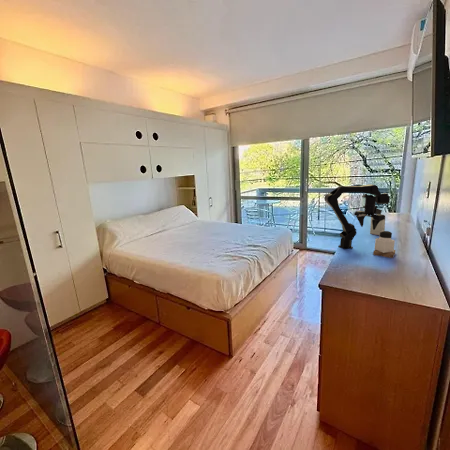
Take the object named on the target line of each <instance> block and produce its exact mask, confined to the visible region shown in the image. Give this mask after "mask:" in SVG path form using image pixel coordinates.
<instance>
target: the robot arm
mask: <svg viewBox="0 0 450 450" xmlns="http://www.w3.org/2000/svg"><path fill="white" fill-rule="evenodd" d="M343 193H364V194H363V195H362V196H361V198H364V205H363V208H364V209H363V210H355V211H354V213H353V215H354V216H355V218H356V219H357V220H358V223H359V226H360V227H362V228H363V227H364V221H365V218H366V217H368V218H371V217H373V220H372V225H373V230H375V228H376V227H377V225H378V223H379V222H380V221H382V220H384V219H385V220H386V215H385V214H383V210H382V209H380V208H378V207H377V205H388V204H390V201H391V199H390V196H389V193H387V192H385V193H381V191H380V190H379V187H378V185H376V184H364V185H355V186H354V185H339V186H337V187H336V188H334V189H333V190H331V191H330V192H329V193H326V194H325V196H324V199H323V200H324V201H325V202H326V203H327V205H328V206H329V207H331V209H332V210H333V212H334V214H335V216H336V217H337V219H338V221H339V222H340V224H341V229H342V231H341V232H340V233H339V236H340V237H341V238H340V242H339V243H340V244H339V245H338V247H339V248H341V249H344V250H348V249H349V250H350V249H353V248H354V246H353V245H352V243H353V242H352V241H353V240H354V238H355V236H357V233H358V232H357V229H356V227H355V224H353V223H351V222H350V223H349V221H348V219H347V218H346V216H345V214H344V212H343V211H342V209H341V207H340V206H339V200H338V199H339V198H340V197H341V196H342V195H343ZM376 204H377V205H376Z"/></svg>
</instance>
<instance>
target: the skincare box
mask: <svg viewBox="0 0 450 450" xmlns="http://www.w3.org/2000/svg"><path fill="white" fill-rule="evenodd" d="M372 220H373V217H370V230H369V234H370V235H377V236H380V232H381V231H386V229H385V227H386V226H385V225H386V218H385V219H384V220H382V221H380V222H379V223H378V225H377V227H376V228H375V230H373V225H372Z"/></svg>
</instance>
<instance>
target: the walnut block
mask: <svg viewBox="0 0 450 450" xmlns="http://www.w3.org/2000/svg"><path fill="white" fill-rule="evenodd" d="M372 252H373V253H372V255H373V256H378V257H383V258H384V257H385V258H389V259H394V257H395V254H396V249H394V251H393V252H387V253H383V252H380V251H377V250H375V249H374V250H373V251H372Z"/></svg>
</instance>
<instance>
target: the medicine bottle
mask: <svg viewBox="0 0 450 450" xmlns="http://www.w3.org/2000/svg"><path fill="white" fill-rule="evenodd" d="M392 234H393V233H392V232H391V231H389V230H385V231H381V232H380V235H378V238H375V241H374V250H377V251H380V252H383V253H387V252H393V251H394V250H395V244H396V243H395V242H396V241H395V239H392V236H393V235H392Z"/></svg>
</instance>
